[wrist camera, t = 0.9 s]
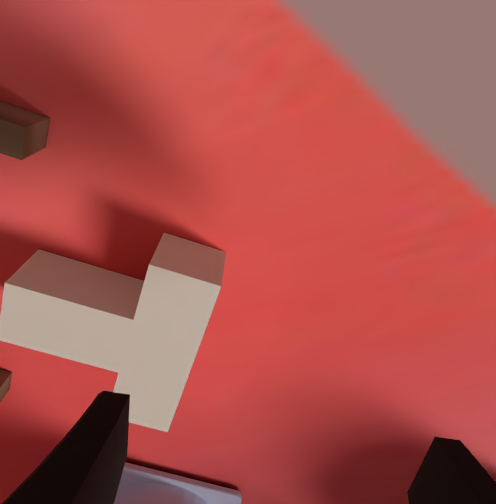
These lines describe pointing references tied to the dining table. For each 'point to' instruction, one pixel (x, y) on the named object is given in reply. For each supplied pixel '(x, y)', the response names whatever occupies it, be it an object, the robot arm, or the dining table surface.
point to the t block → (120, 319)
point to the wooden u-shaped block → (19, 146)
